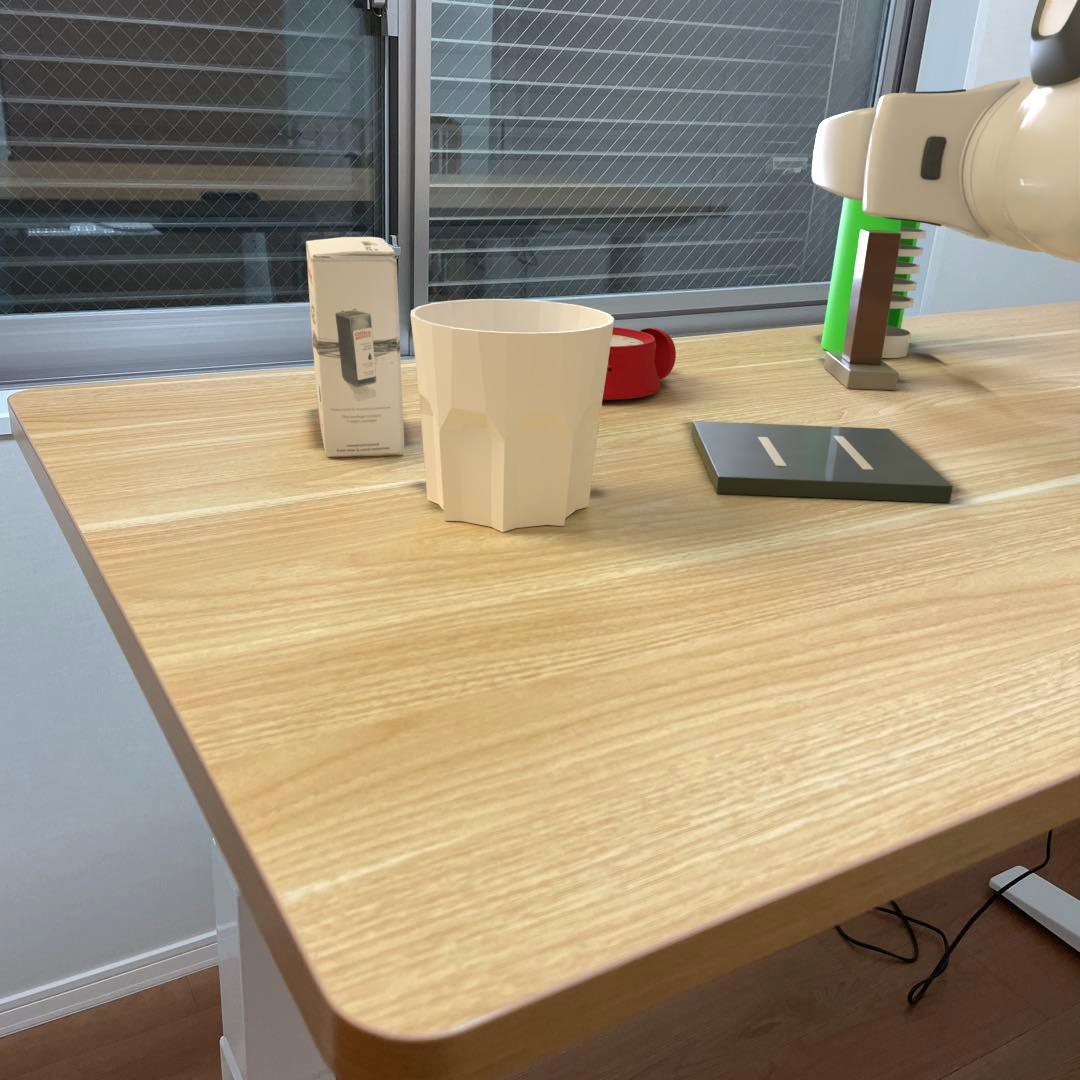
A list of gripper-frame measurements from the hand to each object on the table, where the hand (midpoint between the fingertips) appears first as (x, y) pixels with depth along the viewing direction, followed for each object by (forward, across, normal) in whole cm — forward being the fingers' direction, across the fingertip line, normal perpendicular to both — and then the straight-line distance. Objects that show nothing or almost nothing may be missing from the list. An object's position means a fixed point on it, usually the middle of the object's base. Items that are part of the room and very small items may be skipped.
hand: (944, 158), depth 69 cm
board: (-14, +10, +18) cm, 25 cm away
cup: (-23, +28, +18) cm, 40 cm away
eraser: (+12, 0, +18) cm, 22 cm away
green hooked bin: (+25, -4, +18) cm, 31 cm away
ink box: (-12, +38, +18) cm, 44 cm away
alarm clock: (+6, +22, +18) cm, 29 cm away
